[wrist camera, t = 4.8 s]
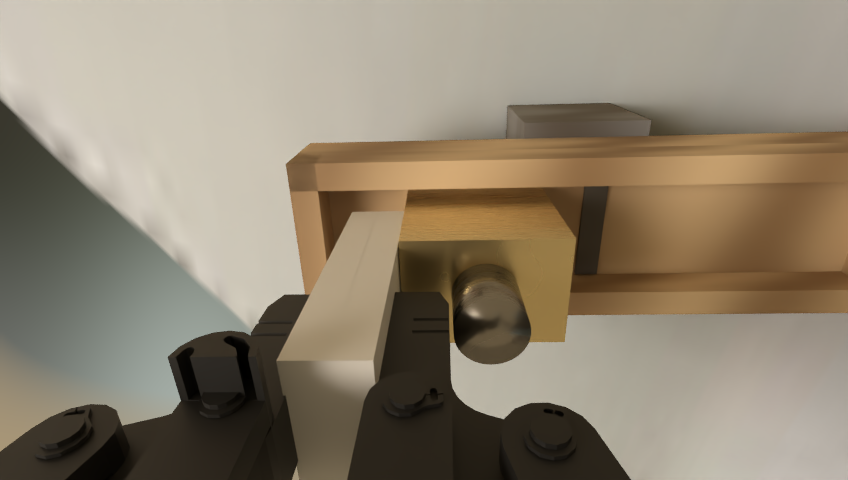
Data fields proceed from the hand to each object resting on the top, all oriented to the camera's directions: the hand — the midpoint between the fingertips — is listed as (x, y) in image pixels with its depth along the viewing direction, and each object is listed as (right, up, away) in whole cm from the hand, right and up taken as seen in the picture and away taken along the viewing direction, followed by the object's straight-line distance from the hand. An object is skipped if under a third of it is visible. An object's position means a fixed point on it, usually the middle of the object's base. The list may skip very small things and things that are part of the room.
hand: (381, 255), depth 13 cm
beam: (+7, +3, +6) cm, 10 cm away
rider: (+3, +1, +1) cm, 3 cm away
